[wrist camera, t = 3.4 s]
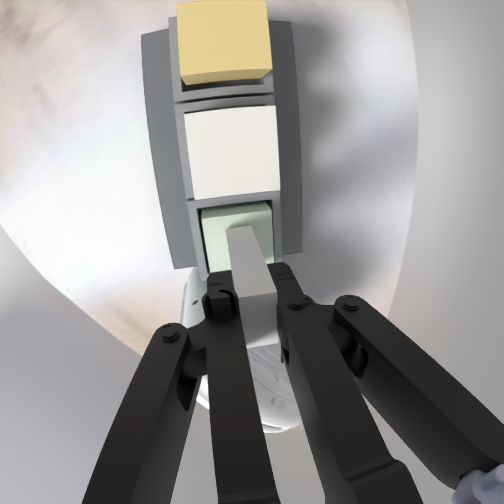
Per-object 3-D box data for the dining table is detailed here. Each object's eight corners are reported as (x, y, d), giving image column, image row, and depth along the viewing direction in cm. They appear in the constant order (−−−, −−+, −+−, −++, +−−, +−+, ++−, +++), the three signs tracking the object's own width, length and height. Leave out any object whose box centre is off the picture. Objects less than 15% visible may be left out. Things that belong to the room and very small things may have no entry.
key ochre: (181, 23, 10) (176, 3, 8) (254, 17, 11) (265, -3, 8) (186, 85, 12) (180, 76, 10) (260, 78, 13) (272, 68, 10)
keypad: (145, 40, 14) (131, 23, 10) (285, 28, 14) (301, 10, 11) (175, 260, 22) (170, 287, 18) (296, 243, 23) (312, 267, 19)
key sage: (202, 203, 18) (201, 218, 15) (262, 196, 18) (271, 210, 16) (210, 256, 20) (211, 278, 17) (265, 249, 20) (274, 270, 17)
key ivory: (189, 116, 13) (183, 114, 10) (262, 108, 13) (275, 105, 11) (197, 185, 15) (194, 200, 12) (267, 177, 15) (280, 189, 13)
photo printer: (176, 280, 23) (161, 407, 12) (213, 249, 22) (222, 376, 11) (250, 341, 27) (274, 449, 16) (284, 318, 26) (324, 427, 15)
